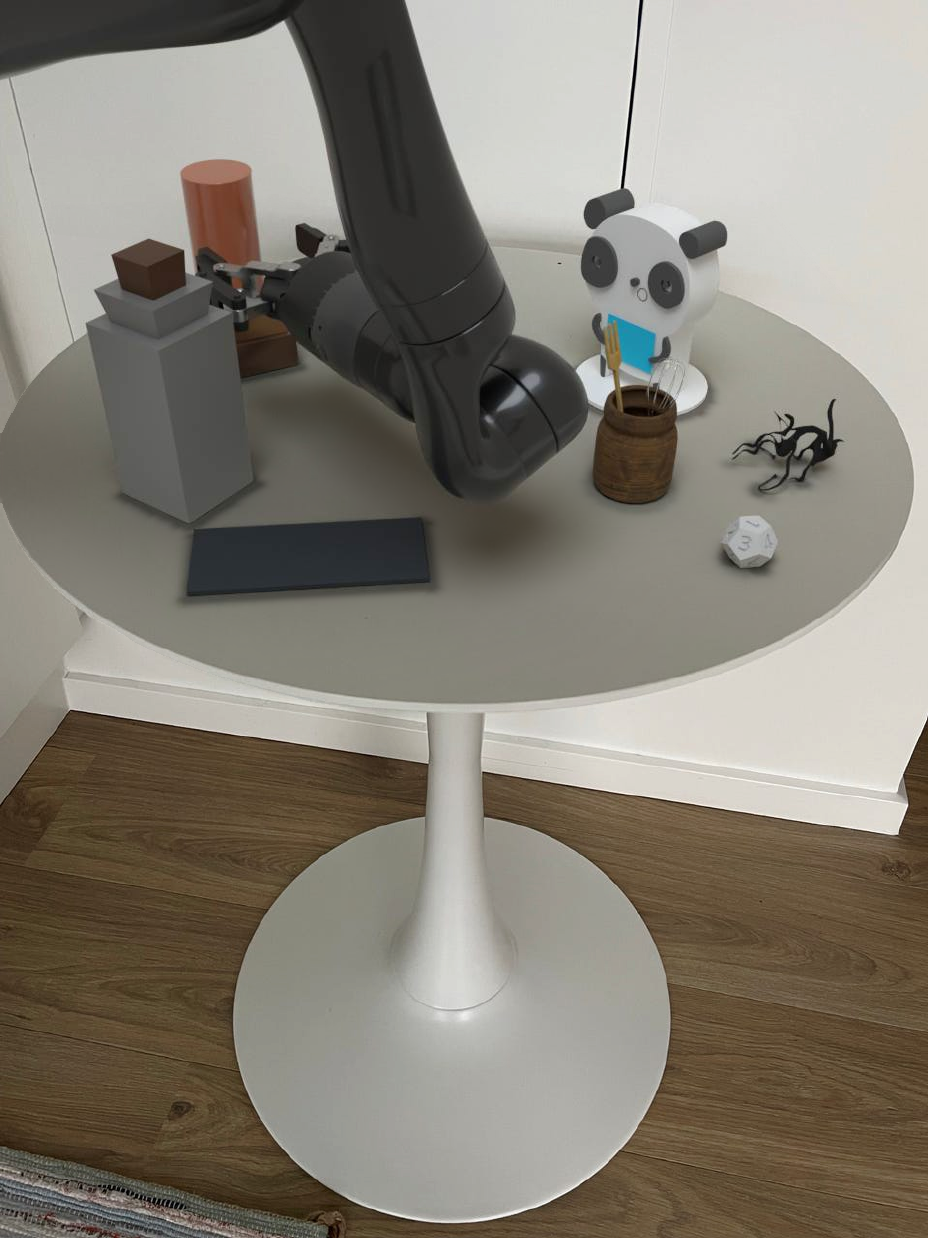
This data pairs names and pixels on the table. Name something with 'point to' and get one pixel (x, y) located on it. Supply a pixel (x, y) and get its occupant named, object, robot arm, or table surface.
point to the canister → (222, 211)
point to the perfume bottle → (170, 384)
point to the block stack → (265, 347)
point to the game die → (749, 541)
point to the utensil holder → (635, 435)
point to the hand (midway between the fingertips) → (251, 247)
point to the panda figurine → (648, 293)
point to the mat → (307, 556)
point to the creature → (791, 445)
